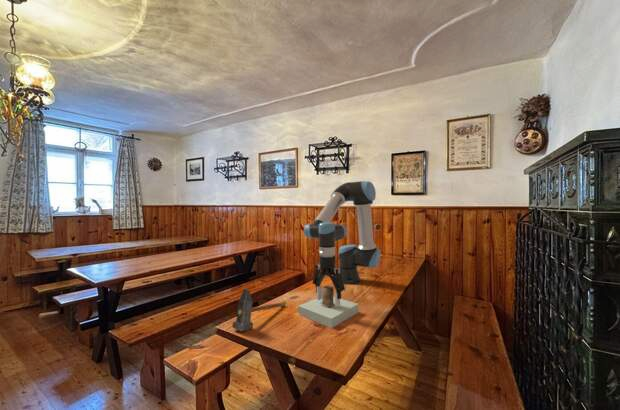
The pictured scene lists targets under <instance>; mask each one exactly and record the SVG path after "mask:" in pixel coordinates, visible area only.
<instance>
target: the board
mask: <svg viewBox="0 0 620 410" xmlns="http://www.w3.org/2000/svg"><path fill="white" fill-rule="evenodd" d="M297 307H298V309H297V310H298V315H299V316H301V317H304V318H306V319H309V320H311V321H313V322H315V323H318V324H321V325H323V326H326V327H328V328H330V329H332V328H334V327H336V326H338V325H339V324H342V323H343V322H344V321H346V320H348V319H350V318H352V317H353V316H355V315H357V314H358V313H359V303H356V302H353V301H349V300H346V299H343V298H341V299H340V305H339V306H337V307H336V306H335V295H333V306H332V307H330V308H327V307H324V306H323V305H322V299H321V300H317V297H316V298H314V299H311V300H309V301H307V302H306V301H305V303H302V304H299V305H298V306H297Z"/></svg>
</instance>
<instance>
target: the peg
mask: <svg viewBox="0 0 620 410" xmlns="http://www.w3.org/2000/svg"><path fill="white" fill-rule="evenodd" d="M333 296H334V286H330V285H324V286H322V305H323V306H324V307H327V308H330V307H332V306H333Z"/></svg>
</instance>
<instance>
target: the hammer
mask: <svg viewBox="0 0 620 410" xmlns="http://www.w3.org/2000/svg"><path fill="white" fill-rule="evenodd" d="M253 301H254V300H253V299H252V295H251V292H250V289H248V288H244V289H243V291H242V293H241V295H240V297H239V299H238V304H237V305H238V307H237V313H236V319H235V321H233V322H232V328H233V329H235V330H237V331H240V332H244V331H248V330H251V329H252V328H254V327H253V326H254V323H253V322H252V321H251V320H252V319H251V318H252V313H255V312H260V311H264V310H266V311H267V310H268V309H269V310H270V309H275V308H278V307H280V308H281V307H282V308H283V307H285V306H286V305H287V303H286V300H282V301H280V302H277V303H270V304H265V305H261V306H259V305H258V306H255V307H253Z"/></svg>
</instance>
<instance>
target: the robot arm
mask: <svg viewBox="0 0 620 410" xmlns="http://www.w3.org/2000/svg"><path fill="white" fill-rule="evenodd" d="M376 195H377V193H376V188H375V186H374V184H373V182H371V181H368V180H367V181H366V180H363V181H352V182H351V181H350V182H344V183H343V184H340V185H339V186H337V188H335V189H334V191H333V192H332V193H331V194H330V197H329V198H330V199H329V200H328V201H327V202H326V204H325V206H324V207H323V208H322V209H321V211H320V212H319V214H318V215H317V216H316V218H315V219H314V220H313V222H312V223H309V224H306V225H304V227H303V234H304V236H305V237H306V238H308V239H315V240H318V251H319V254H318V255H319V257H318V258H319V263H318V264H316V265H315V266H314V274H313V280H312V284H313V285H315V292H316V298H317V300H321V299H322V287H323V285H322V282H323V280H324V278H325V276H327V277H328V278H329V279H330V280H331V282H332V284H333V288H335V291H334V297H335V306H336V307H337V306H339V305H340V299H342V292H343V291H346V287H345V284H346V285H352V284H353V285H354V284H358V283H360V282H361V276H360V274H359V271H358V267H363V268H368V269H371V268H372V269H375V268H377V267H378V265H379V264H380V260H381V250H380V249H379V248H377V247H378V246H377V244H375V243H374V242H375V241H374V233H373V232H374V231H373V218H372V209H371V208H372V207H371V206H372V204H374V203H373V202H374V201H375V200H376V197H377V196H376ZM346 202H353V206H355V208H356V209H355V210H356V216H357V217H356V218H357V219H356V220H357V228H358V243H359V244H358V245H356V244H346V245H341V246H339V248H338V260H339V261H338V267H337V268H336V256H335V255H336V241H341V240H342V239H344V238H346V236H347V235H348V229H347V227H346V226H345V225H344V224H335V223H334V222H331V221H332V220H333V218H334V217H335V215H336V213H337V212H338V210H339V209H340V207H341V206H343V205H344V204H345V203H346Z"/></svg>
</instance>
